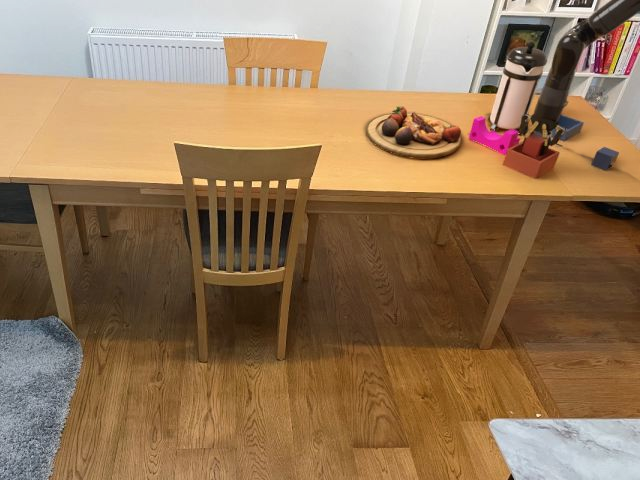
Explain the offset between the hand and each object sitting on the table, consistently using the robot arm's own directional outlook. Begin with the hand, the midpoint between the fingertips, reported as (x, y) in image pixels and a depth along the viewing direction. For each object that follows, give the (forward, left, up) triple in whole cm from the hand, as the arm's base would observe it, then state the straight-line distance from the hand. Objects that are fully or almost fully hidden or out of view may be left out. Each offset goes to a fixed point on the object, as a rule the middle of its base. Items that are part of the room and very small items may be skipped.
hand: (533, 151), depth 187 cm
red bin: (0, 0, -5) cm, 5 cm away
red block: (0, 0, 0) cm, 0 cm away
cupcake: (+17, -46, -5) cm, 49 cm away
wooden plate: (+36, +14, -5) cm, 39 cm away
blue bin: (+6, -28, -5) cm, 29 cm away
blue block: (-15, -20, -5) cm, 26 cm away
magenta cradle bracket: (+16, -4, -5) cm, 17 cm away
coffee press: (+22, -21, -5) cm, 31 cm away
